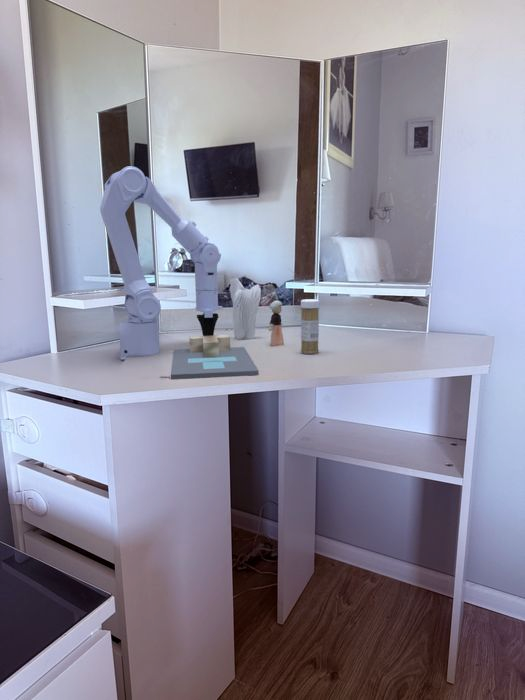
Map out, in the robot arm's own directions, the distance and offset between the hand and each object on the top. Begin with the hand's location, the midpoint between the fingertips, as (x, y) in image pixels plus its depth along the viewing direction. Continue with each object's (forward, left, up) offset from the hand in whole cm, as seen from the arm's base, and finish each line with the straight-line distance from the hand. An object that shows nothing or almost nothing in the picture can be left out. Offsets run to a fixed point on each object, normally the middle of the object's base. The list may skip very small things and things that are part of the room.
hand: (208, 341), depth 129 cm
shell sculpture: (+11, +9, -2) cm, 15 cm away
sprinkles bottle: (+25, -11, -2) cm, 27 cm away
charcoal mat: (0, -18, -2) cm, 18 cm away
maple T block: (0, -11, -1) cm, 11 cm away
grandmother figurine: (+18, -3, -2) cm, 18 cm away
